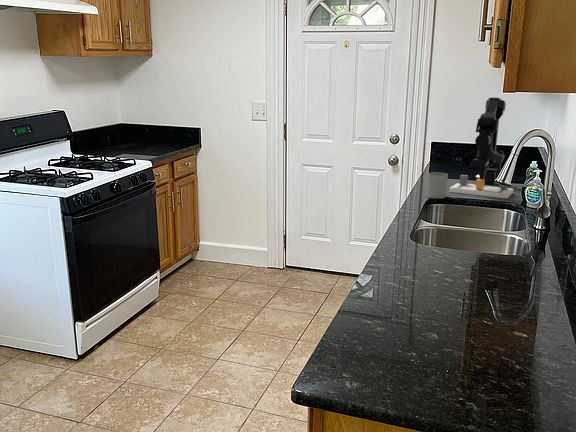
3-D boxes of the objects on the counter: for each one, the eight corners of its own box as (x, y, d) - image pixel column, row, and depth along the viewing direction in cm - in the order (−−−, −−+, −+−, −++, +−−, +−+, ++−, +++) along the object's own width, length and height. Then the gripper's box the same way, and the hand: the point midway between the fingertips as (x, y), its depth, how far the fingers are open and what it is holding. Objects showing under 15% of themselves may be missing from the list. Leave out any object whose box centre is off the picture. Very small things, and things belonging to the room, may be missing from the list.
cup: (447, 195, 246) (449, 173, 243) (444, 199, 238) (446, 176, 236) (428, 193, 249) (430, 171, 246) (424, 197, 242) (426, 174, 239)
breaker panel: (457, 186, 263) (458, 182, 262) (513, 193, 250) (513, 188, 249) (449, 191, 252) (449, 187, 252) (506, 198, 239) (507, 193, 239)
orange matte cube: (477, 187, 250) (478, 178, 249) (484, 188, 248) (484, 179, 247) (475, 188, 247) (476, 179, 246) (482, 189, 246) (483, 180, 245)
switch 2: (501, 187, 250) (501, 178, 249) (508, 188, 248) (508, 179, 247) (499, 188, 248) (500, 179, 247) (506, 189, 246) (507, 180, 245)
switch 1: (461, 183, 260) (461, 174, 259) (467, 183, 258) (468, 175, 257) (459, 184, 257) (460, 175, 256) (465, 184, 256) (466, 176, 254)
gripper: (498, 148, 233) (495, 185, 237) (508, 144, 248) (505, 178, 252) (472, 147, 239) (469, 182, 243) (483, 142, 254) (480, 175, 258)
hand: (482, 179), depth 249 cm, fingers closed
